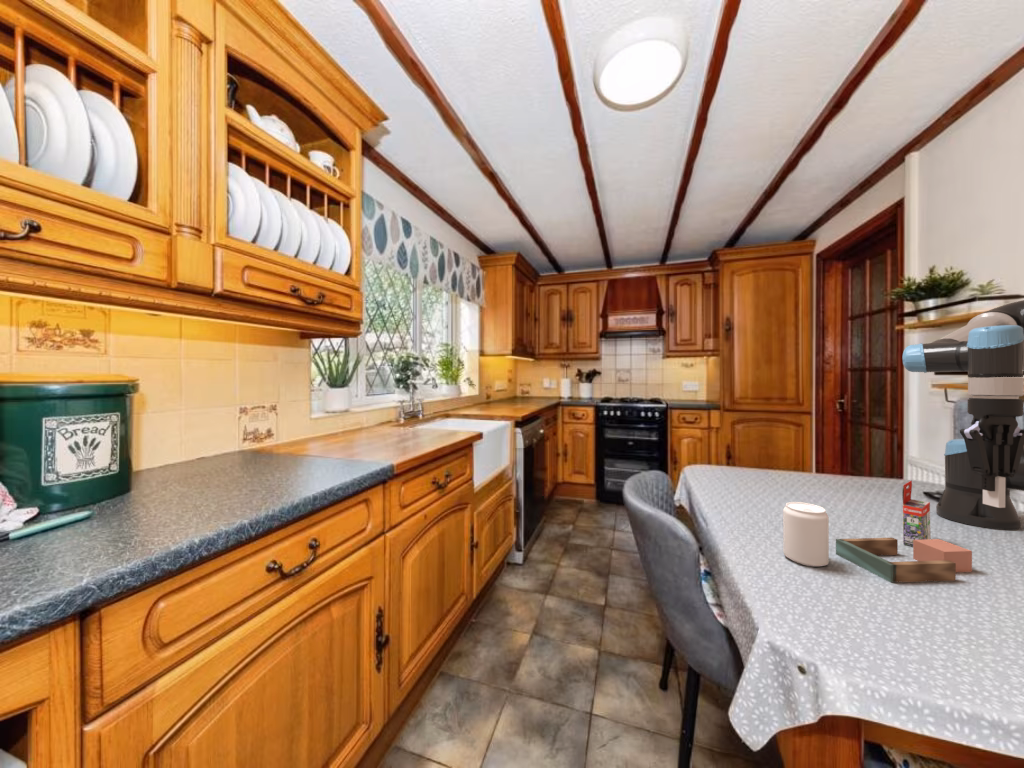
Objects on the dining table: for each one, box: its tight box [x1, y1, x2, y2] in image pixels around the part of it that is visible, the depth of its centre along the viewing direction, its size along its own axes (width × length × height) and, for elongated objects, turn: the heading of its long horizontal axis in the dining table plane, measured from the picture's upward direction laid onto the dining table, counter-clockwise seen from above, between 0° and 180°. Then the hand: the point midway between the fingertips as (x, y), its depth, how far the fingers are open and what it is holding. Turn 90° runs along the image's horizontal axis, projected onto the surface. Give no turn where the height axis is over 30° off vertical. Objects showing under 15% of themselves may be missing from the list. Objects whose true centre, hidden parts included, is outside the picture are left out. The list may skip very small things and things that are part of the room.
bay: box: [835, 537, 957, 583], centre depth 82 cm, size 14×12×4 cm
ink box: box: [901, 480, 932, 548], centre depth 94 cm, size 4×8×15 cm, turn 123°
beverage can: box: [782, 501, 830, 568], centre depth 86 cm, size 8×8×12 cm
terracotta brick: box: [912, 538, 973, 573], centre depth 83 cm, size 6×6×4 cm
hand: (993, 505), depth 83 cm, fingers closed
